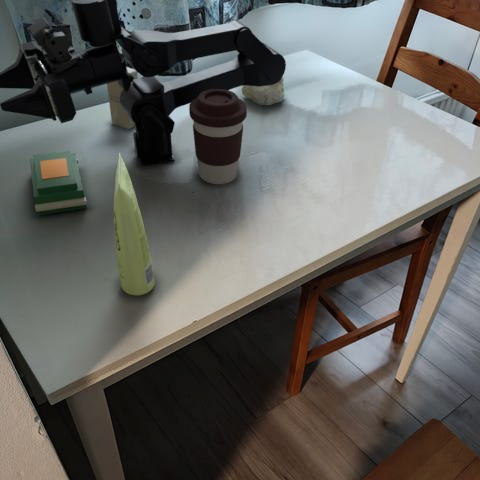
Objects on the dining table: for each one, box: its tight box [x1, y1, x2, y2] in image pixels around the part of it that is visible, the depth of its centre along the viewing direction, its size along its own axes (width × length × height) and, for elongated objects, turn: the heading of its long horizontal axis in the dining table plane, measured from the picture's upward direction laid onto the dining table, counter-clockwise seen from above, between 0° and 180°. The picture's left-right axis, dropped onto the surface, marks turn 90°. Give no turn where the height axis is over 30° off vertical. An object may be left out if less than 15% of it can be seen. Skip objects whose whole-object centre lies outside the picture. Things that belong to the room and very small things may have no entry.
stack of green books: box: [29, 150, 88, 216], centre depth 92 cm, size 8×15×5 cm, turn 18°
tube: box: [113, 152, 156, 296], centre depth 71 cm, size 6×5×20 cm
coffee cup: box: [188, 89, 248, 185], centre depth 94 cm, size 10×10×15 cm
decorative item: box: [241, 75, 285, 106], centre depth 121 cm, size 12×9×10 cm
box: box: [106, 66, 139, 130], centre depth 109 cm, size 5×4×11 cm
